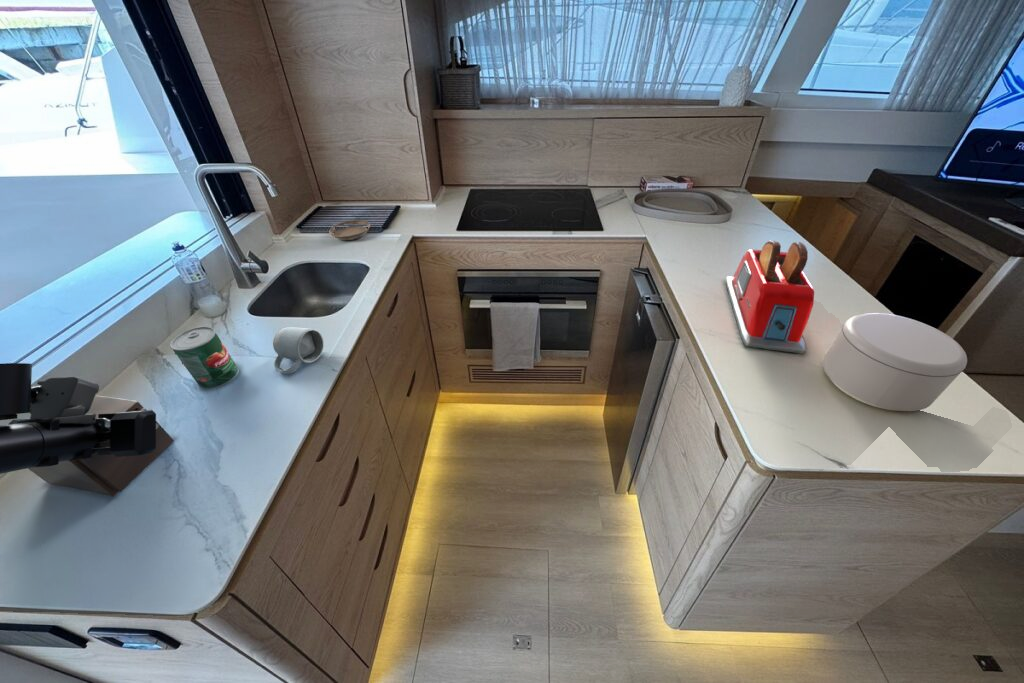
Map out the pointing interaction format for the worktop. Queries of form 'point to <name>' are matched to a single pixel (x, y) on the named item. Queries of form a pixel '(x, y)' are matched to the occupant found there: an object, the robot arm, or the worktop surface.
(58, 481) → the storage box
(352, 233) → the saucer
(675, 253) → the worktop surface
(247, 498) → the worktop surface
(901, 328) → the container
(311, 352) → the ceramic mug
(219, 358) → the canned tomato
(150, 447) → the robot arm
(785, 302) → the toaster
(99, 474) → the drawer
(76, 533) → the worktop surface
